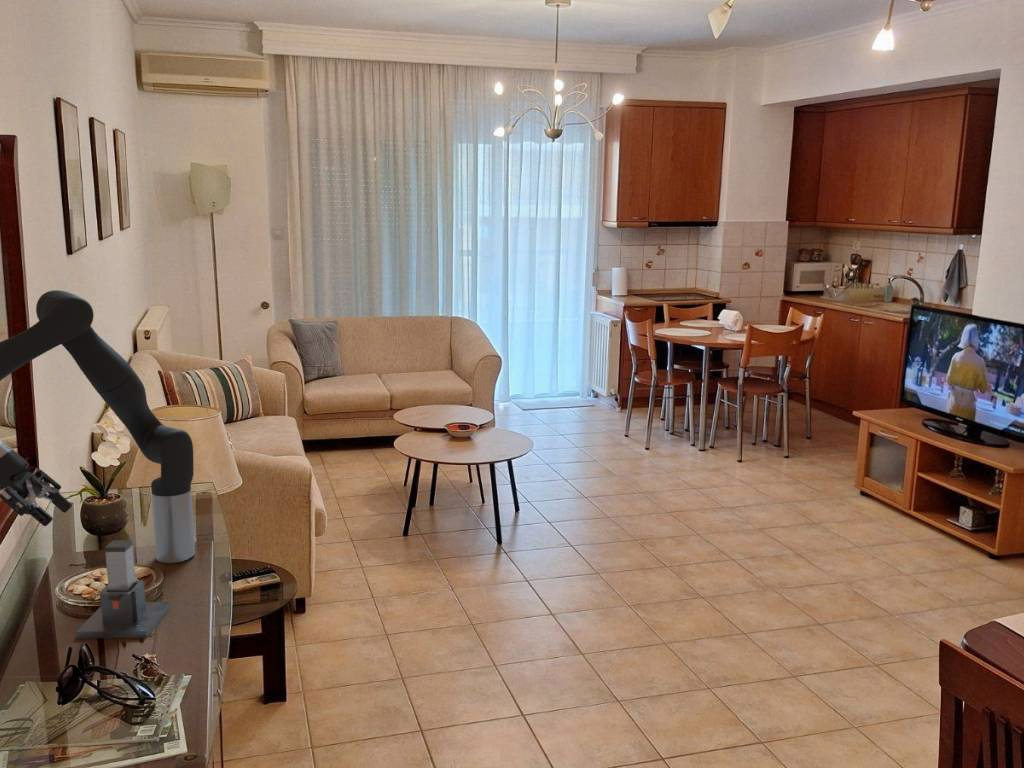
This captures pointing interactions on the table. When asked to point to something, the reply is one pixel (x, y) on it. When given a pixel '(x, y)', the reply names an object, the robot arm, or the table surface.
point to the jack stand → (124, 615)
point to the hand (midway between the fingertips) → (59, 516)
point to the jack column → (120, 566)
